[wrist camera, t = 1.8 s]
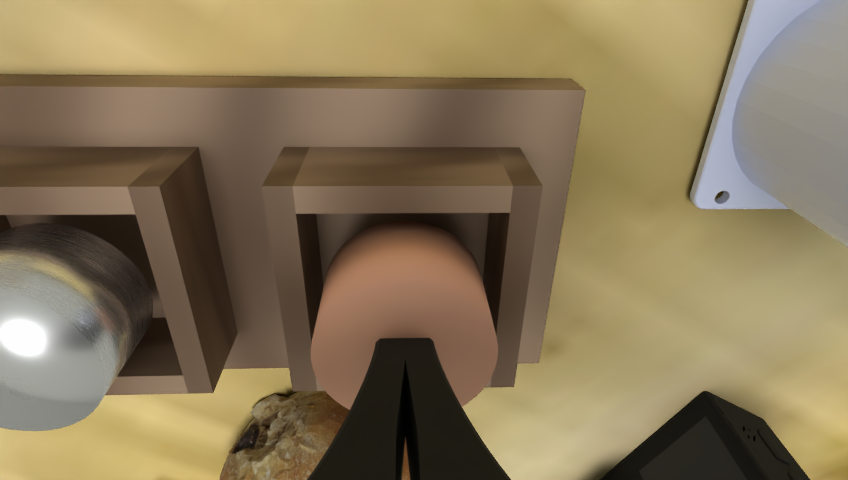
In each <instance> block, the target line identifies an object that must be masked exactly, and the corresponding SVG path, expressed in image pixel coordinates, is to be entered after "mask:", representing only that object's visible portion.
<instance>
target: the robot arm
mask: <svg viewBox="0 0 848 480" xmlns="http://www.w3.org/2000/svg"><path fill="white" fill-rule="evenodd" d="M721 191H723V194H722V196H721V197H719V198H718V199H715V196H716V195H717V194H718V193H719V192H721ZM690 199H691V202H692V203H693V204H694V205H695V206H697V207H698V208H700V209H791V210H793V211H794V212H796V213H797V214H799V215H800V216H802V217H803V218H804V219H806V220H807V221H809V222H810V223H812V224H813V225H815V226H816V227H818V228H819V229H821V230H822V231H824V232H825V233H827V234H828V235H830V236H831V237H833V238H834V239H836V240H837V241H839V242H840V243H841V244H843V245H844V246H846V247H847V248H848V0H749V1H748V4H747V7H746V11H745V14H744V17H743V21H742V24H741V27H740V31H739V34H738V37H737V40H736V44H735V47H734V50H733V54H732V57H731V60H730V64H729V67H728V70H727V74H726V77H725V80H724V84H723V87H722V90H721V94H720V97H719V100H718V103H717V107H716V110H715V113H714V117H713V120H712V123H711V127H710V130H709V133H708V137H707V140H706V143H705V147H704V150H703V153H702V156H701V160H700V163H699V166H698V170H697V173H696V176H695V180H694V183H693V186H692V190H691V193H690ZM405 438H406V447H407V456H408V465H409V474H410V480H511V479H510V478H509V477H508V475H507V474H506V473H505V471H504V470H503V469H502V468H501V466H500V465H499V464H498V462H497V461H496V459H495V458H494V457H493V455H492V454H491V453H490V451H489V450H488V448H487V447H486V445H485V444H484V442H483V441H482V439H481V438H480V436H479V435H478V433H477V432H476V430H475V428H474V427H473V425H472V424H471V422H470V420H469V419H468V417H467V415H466V414H465V412H464V410H463V408H462V407H461V405H460V403H459V401H458V399H457V397H456V395H455V393H454V391H453V389H452V387H451V385H450V383H449V381H448V379H447V377H446V375H445V372H444V370H443V368H442V366H441V363H440V360H439V358H438V355H437V352H436V349H435V345H434V341H433V340H432V339H430V338H380V339H379V340H378V341H376V343H375V349H374V352H373V356H372V359H371V362H370V365H369V368H368V370H367V373H366V376H365V378H364V381H363V383H362V385H361V387H360V389H359V392H358V394H357V396H356V398H355V400H354V403H353V405H352V407H351V409H350V410H349V412H348V414H347V416H346V418H345V420H344V422H343V423H342V425H341V427H340V429H339V431H338V433H337V434H336V436H335V438H334V439H333V441H332V443H331V444H330V446H329V448H328V449H327V451H326V452H325V454H324V456H323V457H322V459H321V460H320V462H319V463H318V465H317V466H316V468H315V469H314V471H313V472H312V473H311V475H310V476H309V478H308V479H307V480H402V472H403V460H404V447H405Z"/></svg>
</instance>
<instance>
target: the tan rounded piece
mask: <svg viewBox="0 0 848 480" xmlns="http://www.w3.org/2000/svg"><path fill="white" fill-rule="evenodd" d="M380 338H430V339H432V340H433V341H434V345H435V349H436V352H437V355H438V358H439V360H440V363H441V366H442V368H443V370H444V372H445V375H446V377H447V379H448V381H449V383H450V385H451V387H452V389H453V391H454V393H455V395H456V397H457V399H458V401H459V403H460V405H461V407H462V406H464V405H465V404H467V403H468V402H469V401H471V400H472V399H473V398H475V397H476V396H477V395H478V394H479V393H480V392H481V391H482V390H483V388H484V387H485V386H486V384H487V383H488V382H489V380H490V378H491V376H492V374H493V372H494V369H495V367H496V363H497V358H498V343H497V337H496V333H495V329H494V325H493V321H492V317H491V313H490V309H489V305H488V301H487V297H486V293H485V289H484V285H483V281H482V277H481V273H480V270H479V266H478V264H477V262H476V260H475V258H474V256H473V254H472V253H471V252H470V250H469V249H468V248H467V247H466V246H465V245H464V244H463V242H461V241H460V240H459V239H458V238H456V237H455V236H454V235H452V234H450V233H449V232H447V231H445V230H443V229H441V228H438V227H436V226H433V225H430V224H426V223H421V222H415V221H395V222H388V223H382V224H379V225H376V226H372V227H370V228H368V229H365V230H363V231H361V232H360V233H358V234H356V235H355V236H353V237H352V238H351V239H349V240H348V241H347V242H346V243H345V244H344V245H343V246H342V247H341V248H340V249H339V250H338V251H337V253H336V254H335V256H334V257H333V259H332V261H331V263H330V265H329V268H328V271H327V274H326V279H325V283H324V288H323V292H322V297H321V302H320V306H319V311H318V315H317V320H316V325H315V329H314V334H313V338H312V344H311V362H312V367H313V370H314V373H315V375H316V378H317V379H318V381H319V383H320V385H321V386H322V387H323V389H324V390H325V391H326V392H327V393H328V394H329V395H330V396H331V397H332V398H333V399H334V400H335V401H337V402H338V403H339V404H341V405H342V406H344V407H345V408H347V409H349V410H350V409H351V407H352V405H353V403H354V400H355V398H356V396H357V394H358V392H359V389H360V387H361V385H362V383H363V381H364V378H365V376H366V373H367V370H368V368H369V365H370V362H371V359H372V356H373V352H374V349H375V343H376V341H378V340H379V339H380Z"/></svg>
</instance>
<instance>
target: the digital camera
mask: <svg viewBox="0 0 848 480" xmlns="http://www.w3.org/2000/svg"><path fill="white" fill-rule="evenodd" d="M711 396H712V397H711ZM713 399H714V400H713ZM716 403H717V404H716ZM725 416H726V417H725ZM727 419H728V420H727ZM743 426H744V427H745V429H744V430H742V429H743ZM734 429H735V430H734ZM736 432H737V433H738V434H737V433H736ZM600 480H810V479H809V478H808V476H807V475H806V474H805V472H804V471H803V470H802V469H801V467H800V466H799V465H798V463H797V462H796V461H795V460H794V458H793V457H792V456H791V454H790V453H789V452H788V450H787V449H786V448H785V447H784V445H783V444H782V443H781V441H780V440H779V439H778V438H777V436H776V435H775V434H774V432H773V431H772V430H771V429H770V427H769V426H768V425H767V423H766V422H765V421H764V420H763V419H762V418H760V417H758V416H756V415H754V414H752V413H750V412H748V411H746V410H744V409H742V408H740V407H738V406H736V405H734V404H732V403H729V402H727V401H725V400H723V399H721V398H719V397H717V396H715V395H713V394H711V393H709V392H706V391H705V392H703V393H702V394H700V395H699V396H698V397H697V398H696V399H694V400H693V401H692V402H691V403H690V404H688V405H687V406H686V407H685V408H684V409H683V410H681V411H680V412H679V413H678V414H677V415H675V416H674V417H673V418H672V419H671V420H670V421H668V422H667V423H666V424H665V425H664V426H662V427H661V428H660V429H659V430H658V431H657V432H655V433H654V434H653V435H652V436H651V437H650V438H648V439H647V440H646V441H645V442H644V443H642V444H641V445H640V446H639V447H638V448H637V449H635V450H634V451H633V452H632V453H631V454H629V455H628V456H627V457H626V458H625V459H624V460H622V461H621V462H620V463H619V464H618V465H617V466H615V467H614V468H613V469H612V470H611V471H609V472H608V473H607V474H606V475H605V476H604V477H603V478H601V479H600Z"/></svg>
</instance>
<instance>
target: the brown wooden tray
mask: <svg viewBox="0 0 848 480" xmlns="http://www.w3.org/2000/svg"><path fill="white" fill-rule="evenodd" d="M584 96H585V89H583V88H582V87H581V86H579V85H578V84H577V83H576V82H574V81H573V80H572V79H520V78H389V77H258V76H127V75H0V233H1V232H3V231H5V230H7V229H9V228H12V227H15V226H18V225H24V224H29V223H53V224H60V225H65V226H69V227H73V228H77V229H80V230H83V231H85V232H88V233H91V234H93V235H95V236H97V237H99V238H101V239H103V240H104V241H106V242H108V243H110V244H111V245H113V246H114V247H115V248H117V249H118V250H120V251H121V252H122V253H123V254H124V255H125V256H127V257H128V258H129V259H130V260H131V261H132V262H133V263H134V265H135V266H136V267H137V268H138V269H139V271H140V272H141V273H142V275H143V276H144V278H145V280H146V282H147V284H148V286H149V289H150V291H151V294H152V299H153V317H152V320H151V323H150V326H149V327H148V329H147V331H146V333H145V334H144V336H143V337H142V339H141V340H140V342H139V343H138V345H137V346H136V348H135V349H134V351H133V353H132V354H131V356H130V357H129V359H128V360H127V362H126V363H125V365H124V366H123V368H122V369H121V371H120V373H119V374H118V376H117V377H116V379H115V380H114V382H113V383H112V385H111V386H110V388H109V389H108V391H107V392H106V394H105V395H137V394H187V393H213V392H214V389H215V387H216V385H217V382H218V380H219V377H220V375H221V373H222V370H223V369H242V368H289V370H290V376H291V383H292V389H293V391H325V390H324V389H323V387H322V386H321V385H320V383H319V381H318V379H317V378H316V375H315V373H314V370H313V367H312V362H311V344H312V338H313V334H314V329H315V325H316V320H317V315H318V311H319V306H320V302H321V297H322V292H323V288H324V283H325V279H326V274H327V271H328V268H329V265H330V263H331V261H332V259H333V257H334V256H335V254H336V253H337V251H338V250H339V249H340V248H341V247H342V246H343V245H344V244H345V243H346V242H347V241H348V240H349V239H351V238H352V237H353V236H355V235H356V234H358V233H360V232H361V231H363V230H365V229H368V228H370V227H372V226H376V225H379V224H382V223H388V222H395V221H415V222H421V223H426V224H430V225H433V226H436V227H438V228H441V229H443V230H445V231H447V232H449V233H450V234H452V235H454V236H455V237H456V238H458V239H459V240H460V241H461V242H463V244H464V245H465V246H466V247H467V248H468V249H469V250H470V252H471V253H472V254H473V256H474V258H475V260H476V262H477V264H478V266H479V270H480V273H481V277H482V281H483V285H484V289H485V293H486V297H487V301H488V305H489V309H490V313H491V317H492V321H493V325H494V329H495V333H496V337H497V343H498V358H497V363H496V367H495V369H494V372H493V374H492V376H491V378H490V380H489V382H488V383H487V384H486V386H485V387H514V383H515V376H516V369H517V364H518V363H539V359H540V353H541V347H542V341H543V335H544V329H545V323H546V318H547V312H548V306H549V300H550V294H551V288H552V283H553V277H554V271H555V265H556V259H557V253H558V248H559V242H560V236H561V230H562V224H563V218H564V213H565V207H566V201H567V195H568V189H569V183H570V178H571V172H572V166H573V160H574V154H575V148H576V143H577V137H578V131H579V125H580V119H581V113H582V108H583V102H584Z"/></svg>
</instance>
